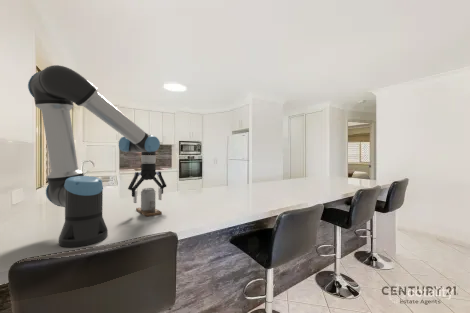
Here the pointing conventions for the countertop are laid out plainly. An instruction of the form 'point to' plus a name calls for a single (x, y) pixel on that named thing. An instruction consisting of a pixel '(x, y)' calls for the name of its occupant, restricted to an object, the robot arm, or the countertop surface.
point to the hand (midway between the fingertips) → (147, 201)
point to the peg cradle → (152, 210)
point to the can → (147, 198)
